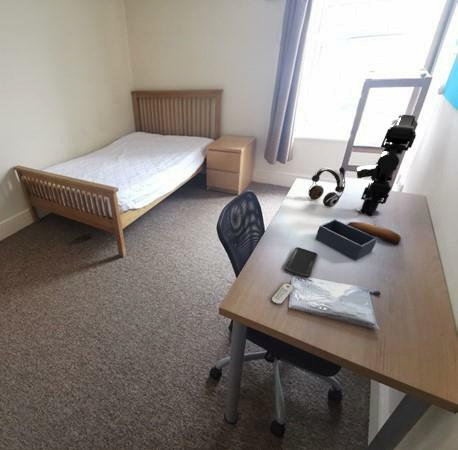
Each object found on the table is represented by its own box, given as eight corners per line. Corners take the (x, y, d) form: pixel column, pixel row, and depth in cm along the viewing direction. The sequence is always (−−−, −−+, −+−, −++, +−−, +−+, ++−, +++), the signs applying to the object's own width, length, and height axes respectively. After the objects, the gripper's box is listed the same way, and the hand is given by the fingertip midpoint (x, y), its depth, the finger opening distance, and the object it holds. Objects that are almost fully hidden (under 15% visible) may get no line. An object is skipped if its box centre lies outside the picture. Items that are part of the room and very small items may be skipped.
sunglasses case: (400, 234, 112) (405, 226, 106) (395, 249, 110) (400, 241, 104) (348, 221, 122) (351, 213, 116) (343, 234, 120) (345, 226, 114)
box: (330, 232, 116) (334, 219, 112) (371, 252, 104) (377, 238, 100) (315, 239, 112) (319, 225, 109) (355, 261, 100) (362, 246, 97)
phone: (284, 267, 97) (296, 246, 107) (284, 270, 97) (295, 248, 107) (309, 276, 92) (318, 253, 102) (308, 278, 93) (318, 255, 103)
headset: (342, 209, 132) (357, 169, 121) (330, 212, 130) (344, 171, 119) (314, 194, 146) (325, 157, 135) (302, 197, 144) (312, 160, 133)
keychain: (285, 281, 92) (294, 286, 90) (285, 282, 92) (294, 287, 90) (270, 299, 85) (280, 304, 84) (270, 300, 86) (279, 305, 84)
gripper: (364, 151, 113) (351, 186, 121) (360, 165, 100) (346, 203, 109) (398, 155, 107) (382, 192, 116) (399, 171, 95) (381, 211, 103)
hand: (372, 199), depth 111 cm, fingers open, 9 cm apart
